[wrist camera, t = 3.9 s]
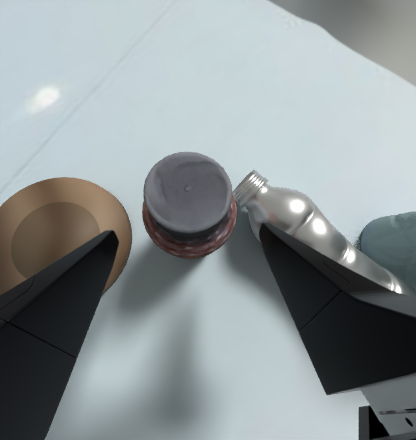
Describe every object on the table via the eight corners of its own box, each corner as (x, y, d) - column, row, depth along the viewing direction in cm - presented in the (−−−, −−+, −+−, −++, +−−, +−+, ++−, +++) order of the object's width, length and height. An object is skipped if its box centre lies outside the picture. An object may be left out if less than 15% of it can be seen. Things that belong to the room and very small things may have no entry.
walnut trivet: (14, 338, 15) (0, 345, 14) (-23, 210, 16) (-38, 208, 15) (151, 271, 17) (148, 273, 16) (106, 164, 18) (101, 159, 17)
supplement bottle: (186, 270, 16) (164, 292, 6) (157, 226, 17) (89, 172, 6) (229, 238, 18) (280, 205, 7) (199, 199, 19) (202, 114, 8)
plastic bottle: (426, 286, 15) (272, 150, 16) (470, 366, 10) (250, 167, 11) (351, 296, 19) (237, 191, 21) (358, 354, 15) (211, 214, 16)
